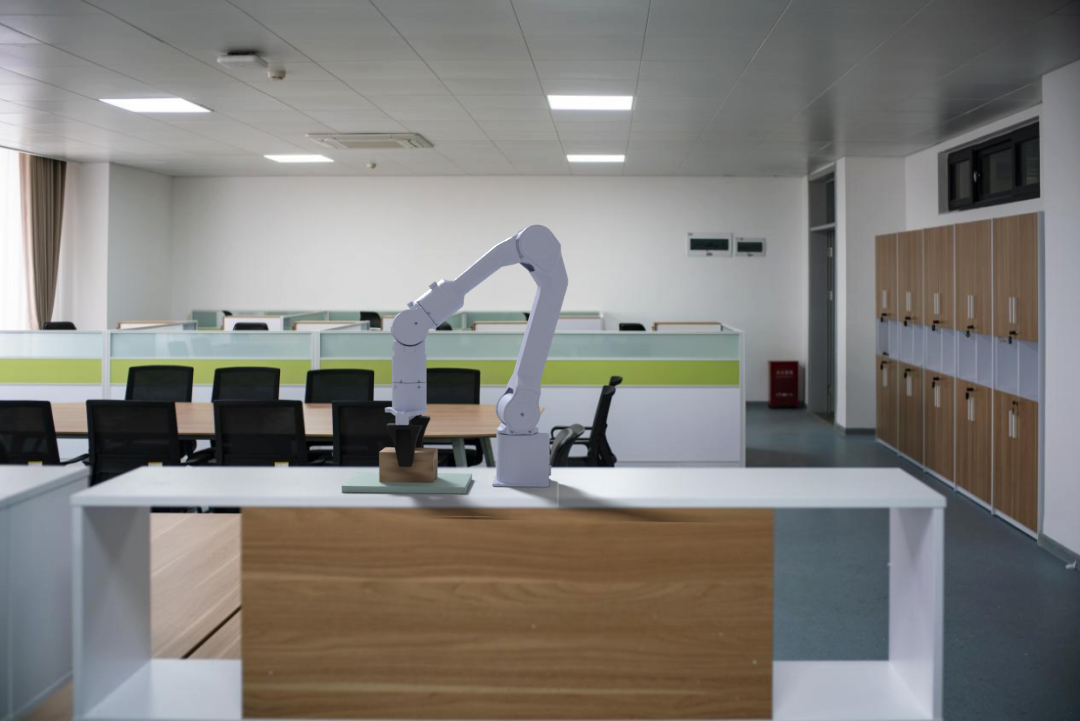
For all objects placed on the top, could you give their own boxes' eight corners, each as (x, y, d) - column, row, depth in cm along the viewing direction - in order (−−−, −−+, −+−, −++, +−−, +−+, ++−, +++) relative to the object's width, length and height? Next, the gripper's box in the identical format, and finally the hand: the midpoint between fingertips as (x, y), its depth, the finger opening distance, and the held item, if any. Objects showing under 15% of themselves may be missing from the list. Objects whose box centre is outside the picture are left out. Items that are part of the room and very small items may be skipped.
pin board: (472, 479, 156) (472, 459, 155) (464, 493, 144) (464, 472, 143) (358, 477, 156) (358, 458, 156) (341, 491, 144) (341, 470, 144)
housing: (437, 477, 152) (437, 448, 152) (433, 482, 147) (433, 452, 147) (385, 476, 152) (385, 447, 152) (379, 481, 147) (379, 452, 147)
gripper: (393, 378, 156) (393, 454, 157) (376, 385, 142) (376, 469, 142) (433, 378, 156) (433, 455, 157) (420, 385, 141) (420, 470, 142)
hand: (409, 462), depth 150 cm, fingers open, 7 cm apart
